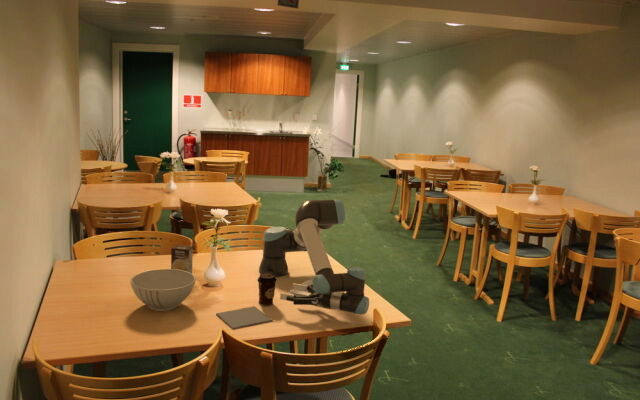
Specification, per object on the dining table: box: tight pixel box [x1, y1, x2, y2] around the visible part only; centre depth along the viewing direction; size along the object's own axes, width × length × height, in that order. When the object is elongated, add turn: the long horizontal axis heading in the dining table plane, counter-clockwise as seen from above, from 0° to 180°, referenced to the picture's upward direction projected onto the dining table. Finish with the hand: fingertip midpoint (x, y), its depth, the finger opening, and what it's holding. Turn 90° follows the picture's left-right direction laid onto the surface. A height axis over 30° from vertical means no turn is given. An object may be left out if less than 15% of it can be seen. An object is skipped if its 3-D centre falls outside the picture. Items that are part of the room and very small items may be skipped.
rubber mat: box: [215, 306, 273, 330], centre depth 234 cm, size 18×16×1 cm
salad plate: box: [289, 279, 346, 296], centre depth 264 cm, size 21×21×3 cm
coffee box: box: [170, 244, 194, 274], centre depth 274 cm, size 9×6×16 cm
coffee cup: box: [257, 273, 278, 306], centre depth 249 cm, size 9×8×13 cm
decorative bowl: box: [129, 268, 197, 312], centre depth 240 cm, size 27×27×12 cm
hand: (287, 290), depth 246 cm, fingers open, 13 cm apart
